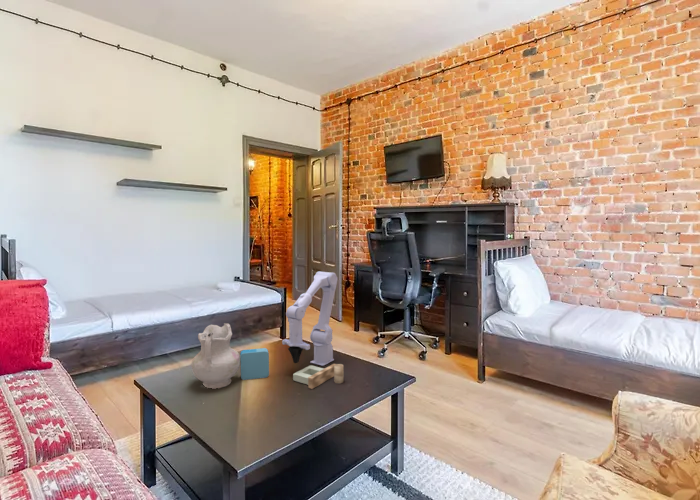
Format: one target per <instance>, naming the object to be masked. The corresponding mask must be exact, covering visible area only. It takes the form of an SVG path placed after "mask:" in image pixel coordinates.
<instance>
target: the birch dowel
mask: <svg viewBox="0 0 700 500" xmlns="http://www.w3.org/2000/svg"><path fill="white" fill-rule="evenodd" d="M335 364H336V365H334V377H333V382H334V383H335V384H338V385H339V384H344V364H342V363H335Z"/></svg>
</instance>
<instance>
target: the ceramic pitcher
mask: <svg viewBox="0 0 700 500" xmlns="http://www.w3.org/2000/svg"><path fill="white" fill-rule="evenodd" d="M231 326H232V325H231V324H230V323H226V322H224V323H223V325H222V326H219V325H217V324H209V325H207V326H206V327H205V328H204V330H203V332H199V333H198V334H197V339H198V341H199V343H200V346H201V347H200V351H198V353H196V355H195V356H194V357H193V358H192V361H191V363H190V365H191V366H190V367H191V371H192V373H193V375H194V377H195V378H196V379H198V381H201V382H202V384H203V385H204V386H205V387H207V388H206V389H208V388H212V390H213V389H215V390H216V388H218V389H221V388H224V387H227V386H230V384H232V383H231V382H232V377H234V376H235V375H236V374H237V373H238V371H239V368H240V367H241V364H240V353H239V352H238V351H237V350H235V349H234V348H232V347H231V346H230V345H231V338H232V336H233V331H232V328H231ZM203 385H202V386H203ZM204 386H203V387H204ZM205 387H204V388H205Z"/></svg>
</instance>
